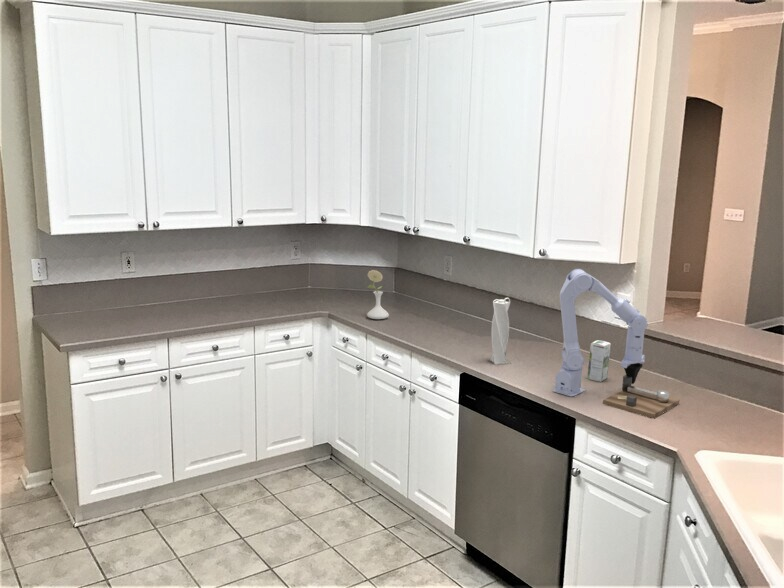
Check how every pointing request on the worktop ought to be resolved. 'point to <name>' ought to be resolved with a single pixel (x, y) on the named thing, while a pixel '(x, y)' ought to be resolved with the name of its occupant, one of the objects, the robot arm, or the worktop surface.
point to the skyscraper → (500, 331)
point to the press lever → (644, 390)
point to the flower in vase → (377, 310)
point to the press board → (639, 403)
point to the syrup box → (599, 360)
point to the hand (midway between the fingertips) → (630, 382)
